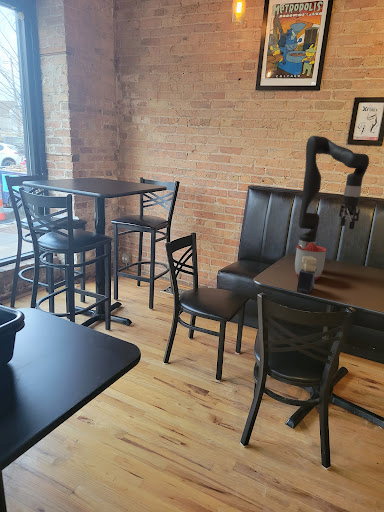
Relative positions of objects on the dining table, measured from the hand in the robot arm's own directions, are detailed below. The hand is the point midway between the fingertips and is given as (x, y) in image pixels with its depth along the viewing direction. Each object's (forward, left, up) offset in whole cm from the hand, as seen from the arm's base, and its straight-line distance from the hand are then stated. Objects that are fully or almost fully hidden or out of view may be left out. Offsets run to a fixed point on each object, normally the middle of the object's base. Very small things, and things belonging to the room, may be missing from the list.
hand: (346, 227), depth 181 cm
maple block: (+10, -22, -20) cm, 31 cm away
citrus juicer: (-10, -13, -30) cm, 34 cm away
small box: (+10, -22, -30) cm, 39 cm away
